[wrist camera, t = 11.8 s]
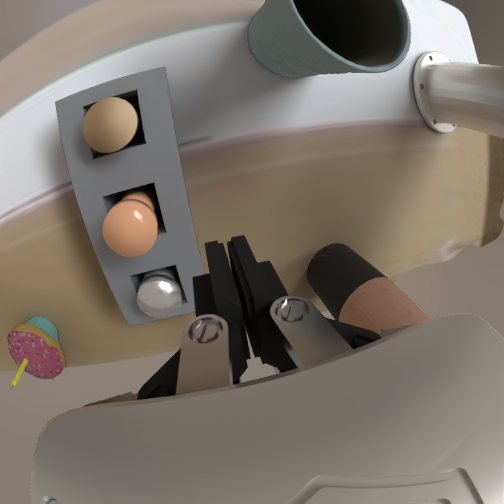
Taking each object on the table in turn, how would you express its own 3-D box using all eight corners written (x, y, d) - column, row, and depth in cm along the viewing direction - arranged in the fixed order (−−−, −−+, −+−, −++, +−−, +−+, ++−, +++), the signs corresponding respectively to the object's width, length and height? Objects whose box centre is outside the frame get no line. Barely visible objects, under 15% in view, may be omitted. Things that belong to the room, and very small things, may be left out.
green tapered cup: (277, 100, 24) (348, 96, 14) (216, 24, 18) (251, -34, 8) (346, 58, 23) (429, 48, 13) (295, -12, 17) (361, -57, 7)
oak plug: (141, 96, 20) (131, 90, 15) (148, 138, 22) (140, 144, 17) (99, 109, 19) (78, 107, 14) (107, 149, 21) (88, 159, 16)
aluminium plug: (173, 245, 27) (174, 277, 22) (182, 277, 29) (186, 312, 24) (136, 254, 26) (130, 287, 21) (147, 285, 28) (145, 321, 23)
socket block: (166, 76, 20) (165, 66, 16) (206, 279, 31) (213, 307, 27) (75, 103, 18) (55, 101, 14) (132, 297, 29) (129, 326, 25)
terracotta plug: (154, 178, 22) (149, 197, 17) (164, 219, 24) (163, 249, 19) (112, 189, 21) (95, 212, 16) (123, 230, 23) (113, 262, 18)
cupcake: (9, 311, 25) (-21, 377, 15) (49, 298, 26) (19, 373, 16) (41, 354, 29) (25, 420, 19) (82, 345, 30) (70, 419, 20)
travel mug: (360, 268, 37) (455, 364, 20) (317, 300, 38) (399, 412, 21) (344, 229, 33) (463, 331, 16) (295, 265, 34) (394, 394, 17)
